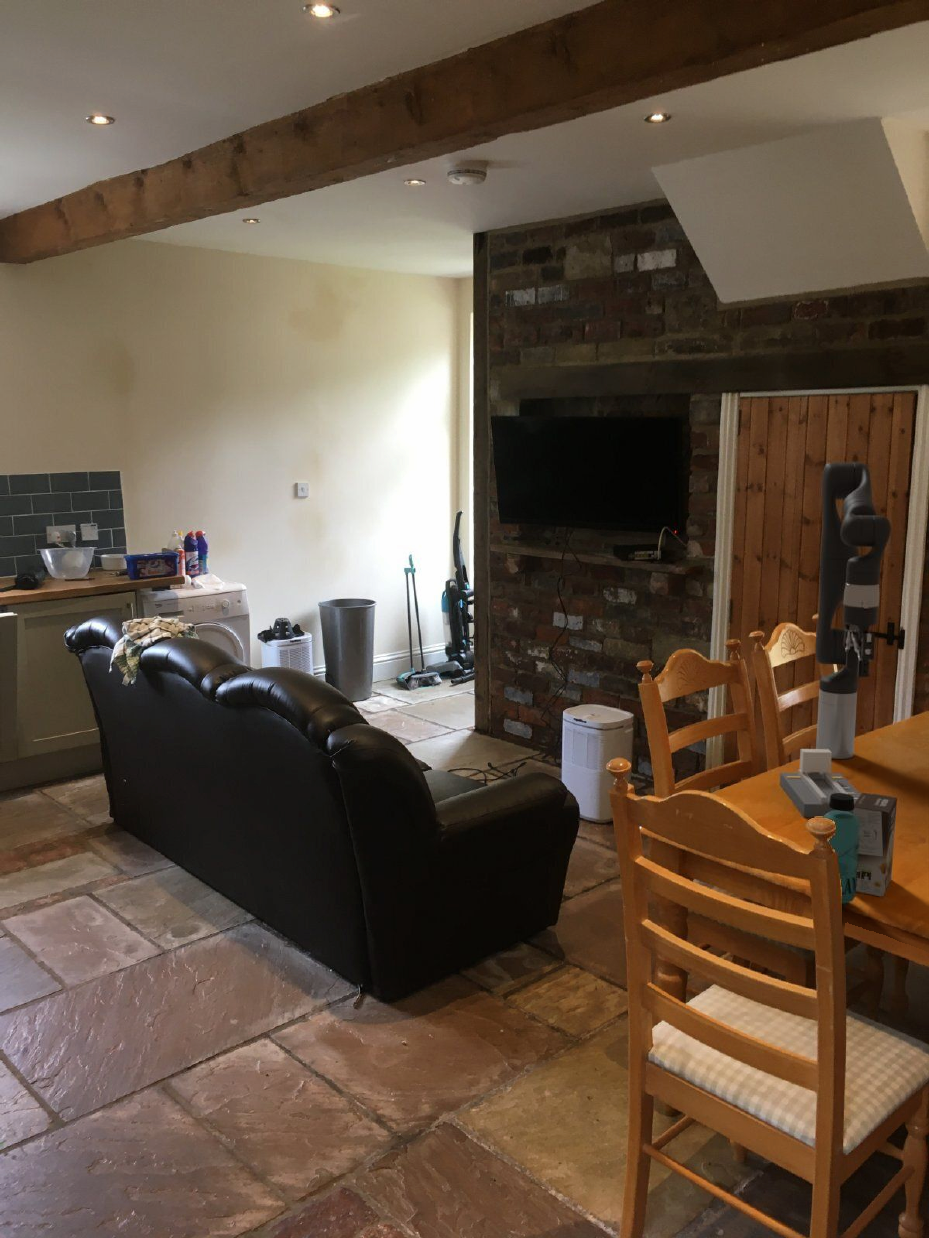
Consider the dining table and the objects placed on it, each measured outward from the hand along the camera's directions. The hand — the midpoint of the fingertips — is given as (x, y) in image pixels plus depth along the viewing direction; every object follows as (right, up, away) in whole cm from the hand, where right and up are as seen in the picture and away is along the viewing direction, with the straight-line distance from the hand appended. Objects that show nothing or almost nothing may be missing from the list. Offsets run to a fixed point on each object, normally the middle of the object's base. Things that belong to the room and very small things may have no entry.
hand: (856, 672), depth 230 cm
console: (-9, -29, -3) cm, 31 cm away
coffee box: (-16, -37, -46) cm, 61 cm away
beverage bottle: (-25, -38, -54) cm, 70 cm away
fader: (-9, -25, +3) cm, 26 cm away
